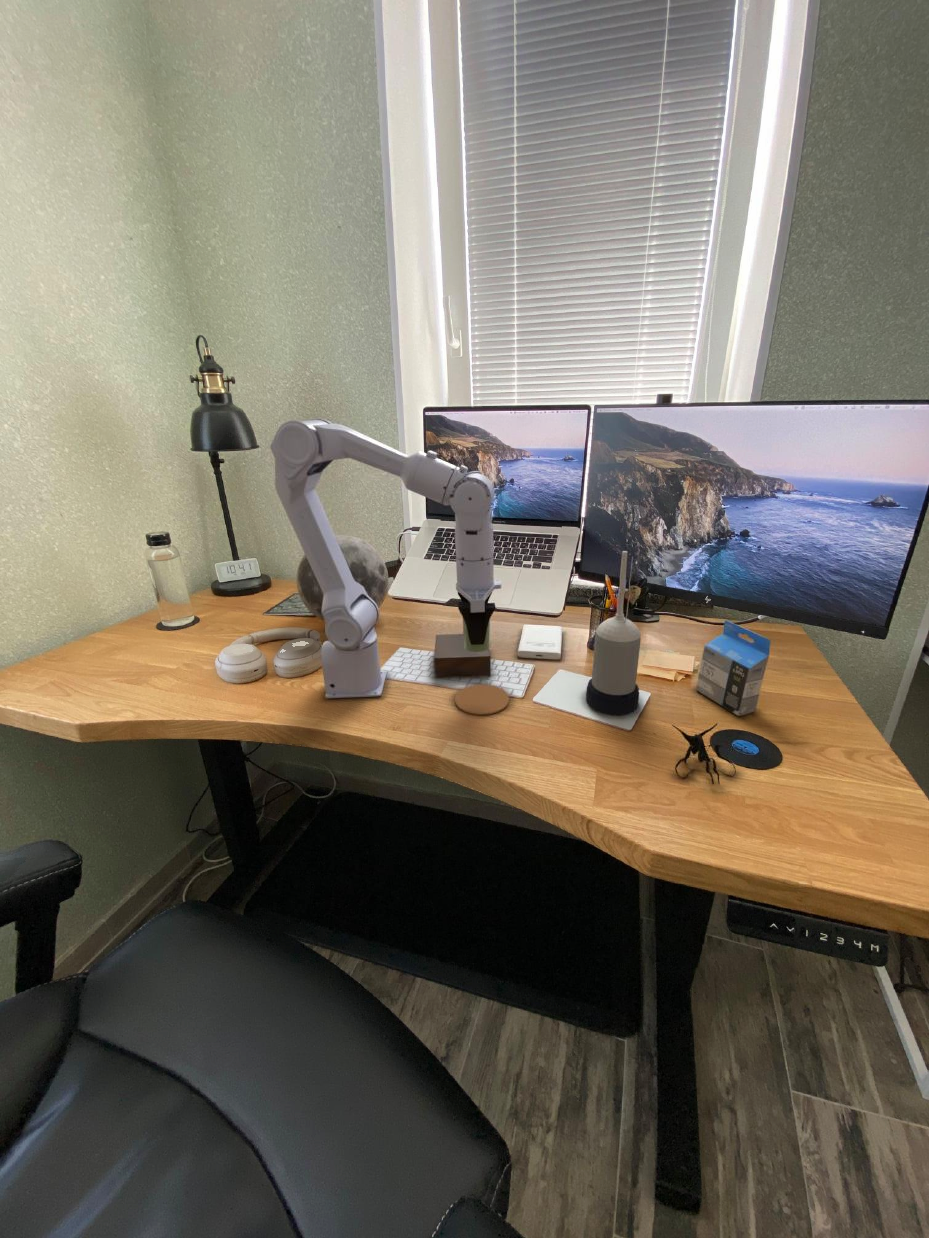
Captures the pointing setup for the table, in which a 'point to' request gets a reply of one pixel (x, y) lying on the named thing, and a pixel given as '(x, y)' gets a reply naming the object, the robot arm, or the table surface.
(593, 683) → the humidifier
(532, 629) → the hard drive
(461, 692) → the coaster
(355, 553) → the moon model
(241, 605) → the table surface
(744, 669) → the label tape box
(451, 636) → the stand
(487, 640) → the sage green cylinder
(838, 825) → the table surface
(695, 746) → the creature
